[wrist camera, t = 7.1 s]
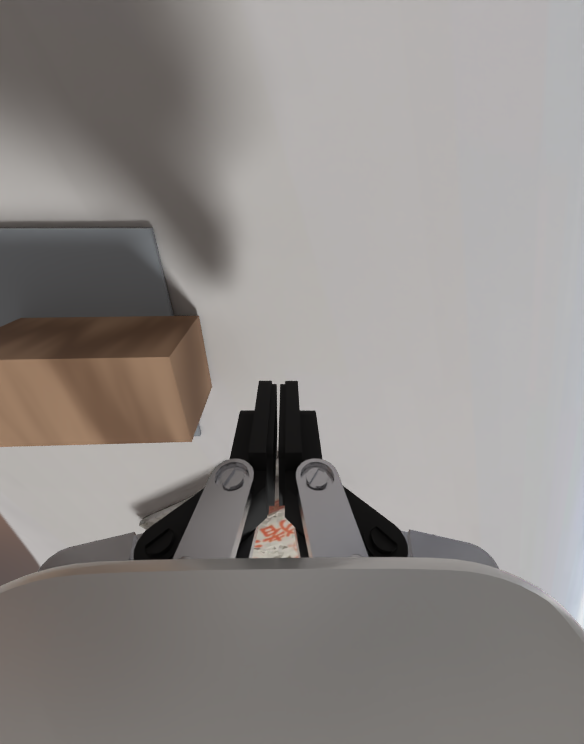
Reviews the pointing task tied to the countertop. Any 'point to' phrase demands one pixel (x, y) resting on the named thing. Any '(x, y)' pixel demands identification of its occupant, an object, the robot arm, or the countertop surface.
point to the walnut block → (101, 380)
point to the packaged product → (272, 532)
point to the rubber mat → (81, 274)
